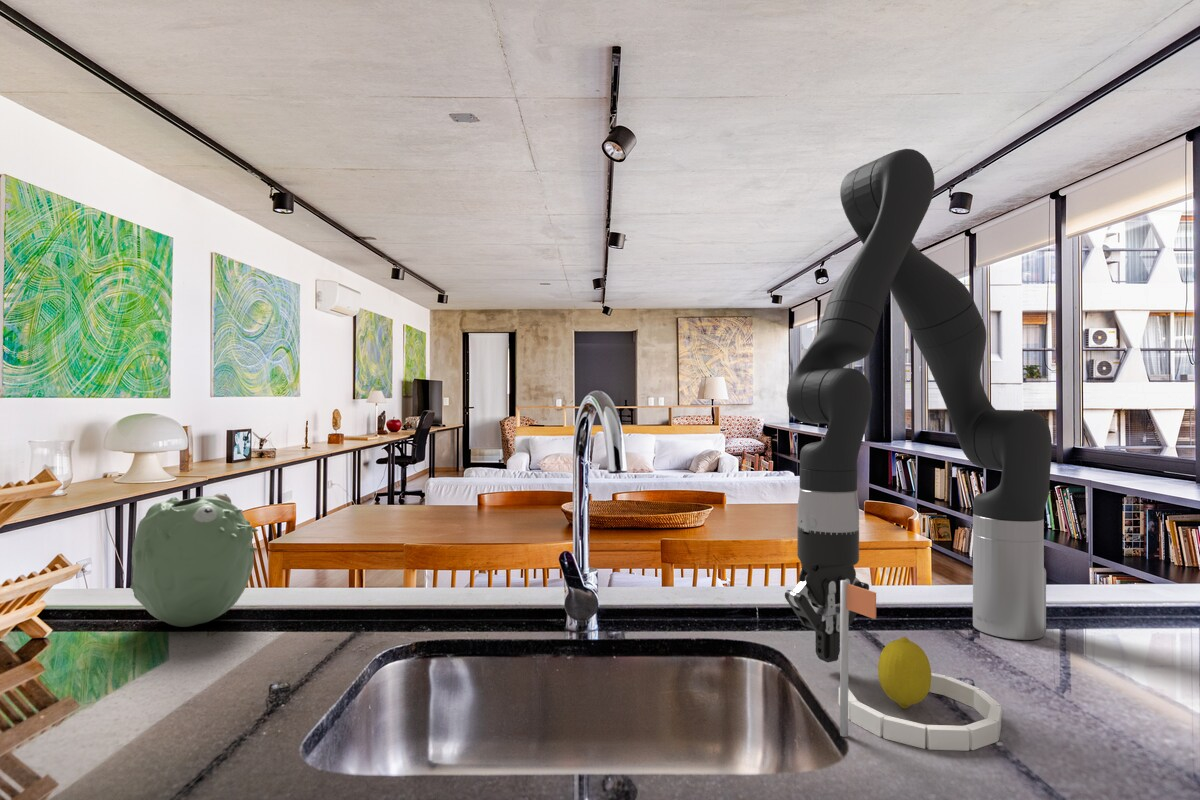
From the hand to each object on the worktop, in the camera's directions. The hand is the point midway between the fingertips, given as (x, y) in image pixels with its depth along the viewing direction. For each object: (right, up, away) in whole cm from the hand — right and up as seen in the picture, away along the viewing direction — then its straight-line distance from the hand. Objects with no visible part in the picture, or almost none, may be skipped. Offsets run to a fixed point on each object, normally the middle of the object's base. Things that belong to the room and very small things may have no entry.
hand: (827, 659), depth 89 cm
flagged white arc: (+5, -2, -14) cm, 15 cm away
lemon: (+5, -2, -11) cm, 12 cm away
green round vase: (-92, -2, +18) cm, 94 cm away
